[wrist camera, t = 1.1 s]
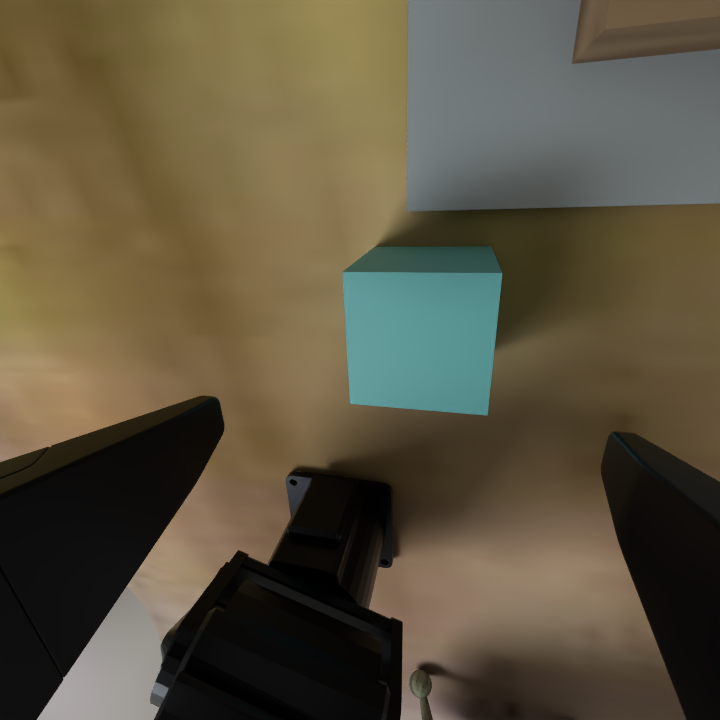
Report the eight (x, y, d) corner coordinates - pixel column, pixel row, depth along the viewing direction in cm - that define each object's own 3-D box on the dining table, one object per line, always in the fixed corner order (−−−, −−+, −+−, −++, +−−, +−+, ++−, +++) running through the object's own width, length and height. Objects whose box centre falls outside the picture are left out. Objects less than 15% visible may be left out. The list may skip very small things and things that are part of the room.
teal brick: (481, 354, 19) (487, 415, 14) (377, 349, 20) (350, 403, 15) (491, 245, 17) (502, 273, 12) (375, 246, 18) (342, 272, 13)
